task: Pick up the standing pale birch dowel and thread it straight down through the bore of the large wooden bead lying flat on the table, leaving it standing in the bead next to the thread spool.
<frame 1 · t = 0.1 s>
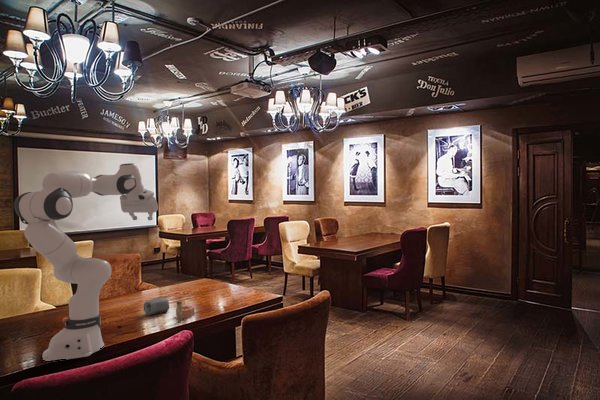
hand: (142, 219, 202), 52 cm above the table, fingers open, 8 cm apart
dowel: (179, 321, 201), on the table
bead: (185, 315, 211), on the table
spool: (156, 313, 216), on the table
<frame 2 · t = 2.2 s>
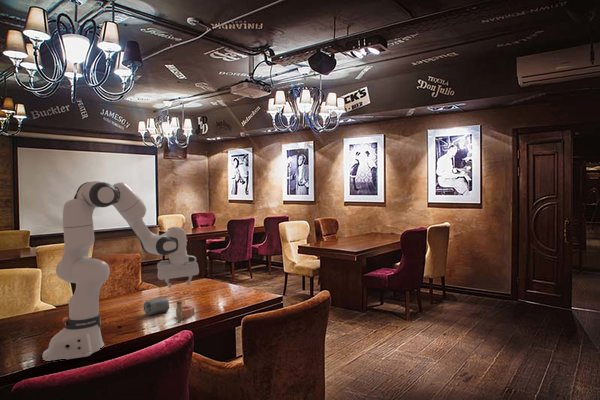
hand: (179, 285, 201), 18 cm above the table, fingers open, 8 cm apart
nothing on the table moved.
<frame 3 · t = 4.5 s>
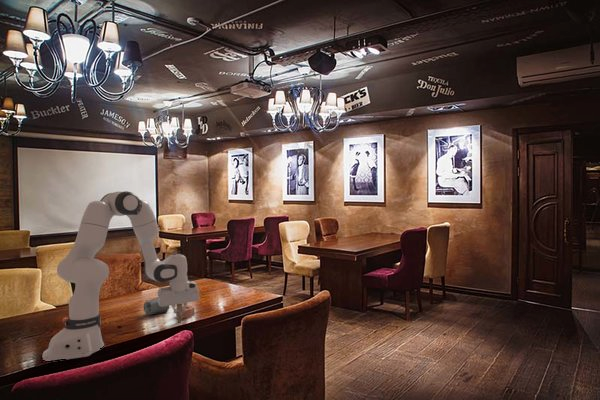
hand: (179, 312, 201), 5 cm above the table, fingers closed on dowel, 2 cm apart
dowel: (179, 321, 201), on the table, touching gripper
everything else where it was.
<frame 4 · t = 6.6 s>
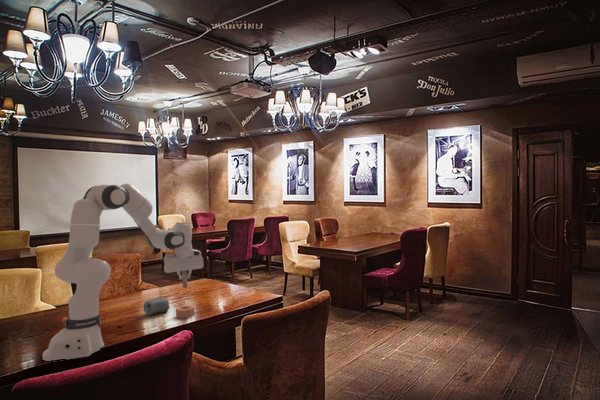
hand: (184, 278, 210), 20 cm above the table, fingers closed on dowel, 2 cm apart
dowel: (185, 287, 210), point 15 cm above the table, touching gripper
everything else where it was.
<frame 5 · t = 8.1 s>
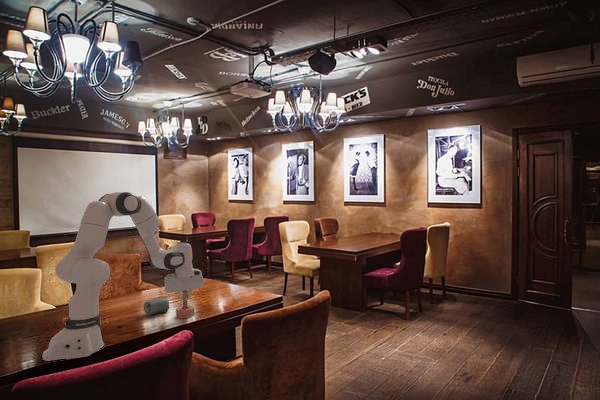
hand: (185, 298, 211), 9 cm above the table, fingers closed on dowel, 2 cm apart
dowel: (185, 306, 211), point 4 cm above the table, touching gripper
everything else where it was.
when the fingers open (6 cm above the table, at t = 8.9 s): dowel drops 1 cm, resting in bead.
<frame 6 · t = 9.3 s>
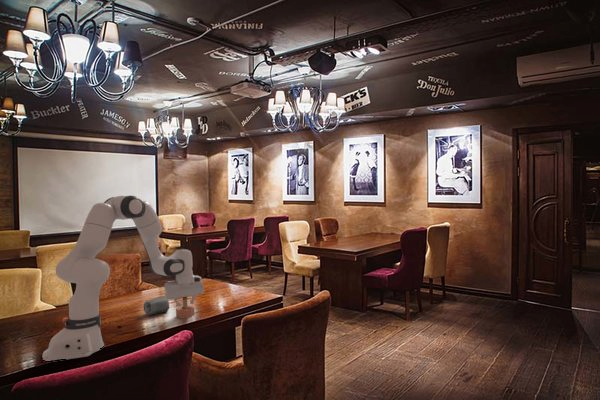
hand: (185, 304, 211), 6 cm above the table, fingers open, 6 cm apart
dowel: (185, 315, 211), resting in bead
everything else where it was.
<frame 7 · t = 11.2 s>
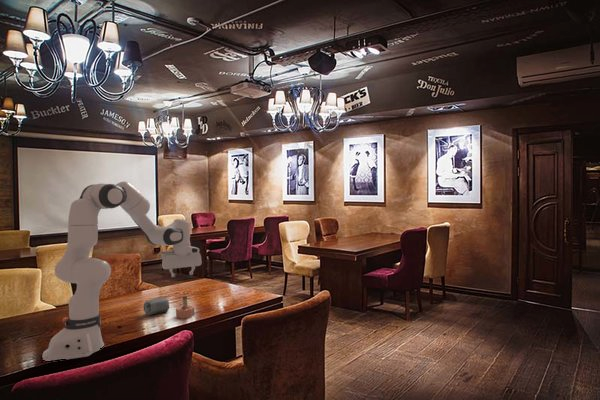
hand: (182, 275, 210), 21 cm above the table, fingers open, 8 cm apart
nothing on the table moved.
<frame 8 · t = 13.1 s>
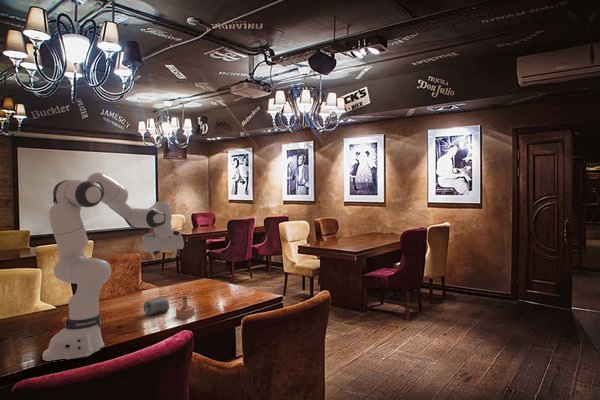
hand: (164, 259, 206), 31 cm above the table, fingers open, 8 cm apart
nothing on the table moved.
at the end: dowel 0.0 cm off-centre on the bead, point 0.0 cm above the bead's base; dowel tilted 0°; the gripper is holding nothing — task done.
